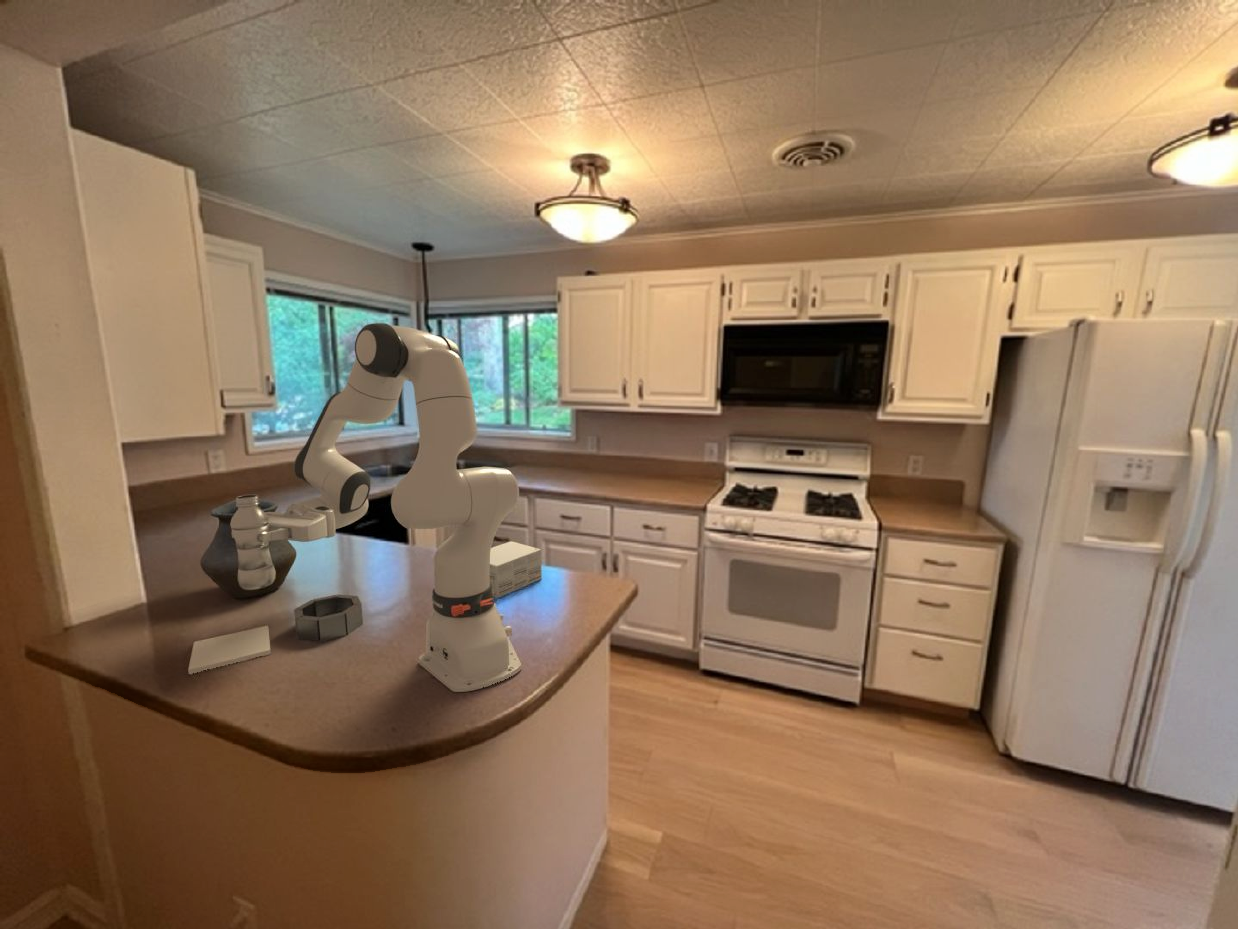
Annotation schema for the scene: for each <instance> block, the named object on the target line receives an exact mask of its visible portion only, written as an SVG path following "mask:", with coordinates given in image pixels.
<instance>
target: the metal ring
mask: <svg viewBox="0 0 1238 929" xmlns="http://www.w3.org/2000/svg"><path fill="white" fill-rule="evenodd" d="M362 607H363V606H362V602H361V600H360V598H359V596H358V595H350V594H334V595H333V594H332V595H328V596H322V597H319V598H314V599H310V600H308V601H306V602H305V603H303V604H302V605H300V606H298V607H296V608H295V609H293V612H294V615H293V616H294V625H295V626H294V627H295V634H296V638H297V640H298V641H308V642H315V643H319V642H325V641H329V640H332V639H338V638H340V637H345V636H347V635H350V634H351V633H353V632H354V631H355V630H356V629H358V628H359V627H361V626H362V625H363V624H364V623H363V622H364V620H363V619H364V618H363V608H362Z"/></svg>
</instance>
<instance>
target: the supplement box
mask: <svg viewBox="0 0 1238 929" xmlns="http://www.w3.org/2000/svg"><path fill="white" fill-rule="evenodd" d="M542 571H543V570H542V549H541V548H537V547H533V546H530V545H526V544H523V543H519V542H515V541H507V542H505V543H502V544H499V545H496V546H493V547H492V546H491V551H490V583H491V584H492V589H493V593H494V599H498V598H500V597H503V596H506V595H507V594H510V593H512V592H514V591H517V590H519V589H522V588H524V587H527V586H528V585H531V584H533V583H535V581H536V582H538V581H540V580H542V578H543V577H542V575H543V574H542ZM530 583H531V584H530Z"/></svg>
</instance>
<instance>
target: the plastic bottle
mask: <svg viewBox="0 0 1238 929" xmlns="http://www.w3.org/2000/svg"><path fill="white" fill-rule="evenodd" d="M235 499H236V502H237V504H236V507H238V510H237V511H236V513H235V514H234V516H233V517H232V519H231V523H230V525H231V529H232V532H233V535H234V538H235V541H236V546H237V551H238V564H239V569H238V582H239V585H240V587H242V588H243V589H245V590H255V589H260V588H264V587H267V586H269V585H271V584H272V583H273V582H274V580H275V574H276V571H275V568H274V565H273V563H272V560H271V556H270V551H269V544H268V542H260V541H259V540H258V539H259V538H258V534H259V533H263V532H268V526H269V524H268V523H269V518H268V516H267V515H266V514H265V512H264V511H263V510H261V509H260V508H259V507H258V504H259V501H258V499H259V495H258V494H243V495H239V496H236V498H235Z"/></svg>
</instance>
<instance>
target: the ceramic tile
mask: <svg viewBox="0 0 1238 929" xmlns="http://www.w3.org/2000/svg"><path fill="white" fill-rule="evenodd" d="M270 640H271V639H270V630H269V625H265V626H264V625H263V626H261V627H260V626H259V627H255V628H250V629H247V630H242V631H238V632H237V631H236V632H233V633H229V634H224V635H219V636H215V637H211V638H206V639H202V640H196V641H194V642H193V646H192V649H191V654H190V660H189V665H188V670H187V671H188V675H189V674H190V675H193V673H194V674H196V673H197V672H198V673H201V671H202V672H204V671H203V670H206V671H208V670H207V669H210V670H214V669H217V668H216V667H218V668H221V667H220V666H222V667H225V665H226V666H229V665H228V664H230V665H233V663H234V664H237V663H236V662H238V663H242V662H246V661H249V659H250V660H252V658H254V659H256V658H255V657H258V658H260V657H259V656H262V657H265V656H266V657H267V656H269V655H271V654H272V653H271V641H270ZM241 661H242V662H241ZM213 668H214V669H213ZM198 673H197V674H198Z"/></svg>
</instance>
